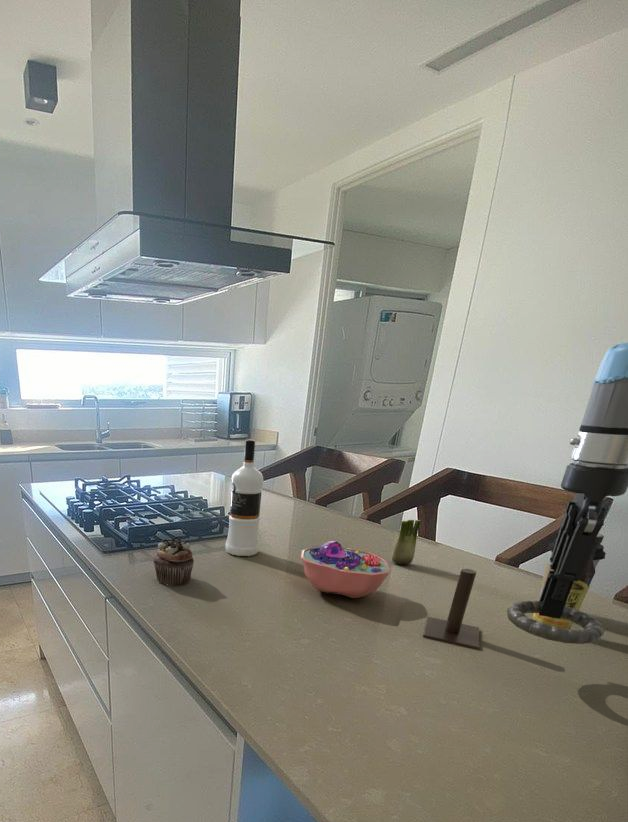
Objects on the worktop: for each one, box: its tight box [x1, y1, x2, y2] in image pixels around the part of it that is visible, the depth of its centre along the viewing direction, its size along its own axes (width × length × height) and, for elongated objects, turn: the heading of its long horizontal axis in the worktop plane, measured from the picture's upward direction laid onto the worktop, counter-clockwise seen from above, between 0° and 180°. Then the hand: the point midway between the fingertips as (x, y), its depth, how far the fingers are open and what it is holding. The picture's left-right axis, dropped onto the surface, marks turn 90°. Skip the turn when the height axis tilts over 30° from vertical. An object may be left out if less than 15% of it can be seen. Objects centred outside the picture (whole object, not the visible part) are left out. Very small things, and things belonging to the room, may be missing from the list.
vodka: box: [225, 439, 264, 557], centre depth 129 cm, size 9×9×30 cm
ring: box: [506, 600, 605, 645], centre depth 75 cm, size 12×12×2 cm
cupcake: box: [152, 537, 195, 586], centre depth 114 cm, size 10×10×10 cm
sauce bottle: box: [531, 532, 605, 630], centre depth 91 cm, size 7×6×20 cm
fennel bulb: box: [391, 519, 422, 566], centre depth 127 cm, size 6×5×12 cm
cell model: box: [300, 540, 392, 599], centre depth 108 cm, size 17×20×11 cm
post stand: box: [422, 568, 480, 651], centre depth 89 cm, size 9×9×14 cm
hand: (548, 612), depth 79 cm, fingers closed on ring, 2 cm apart
